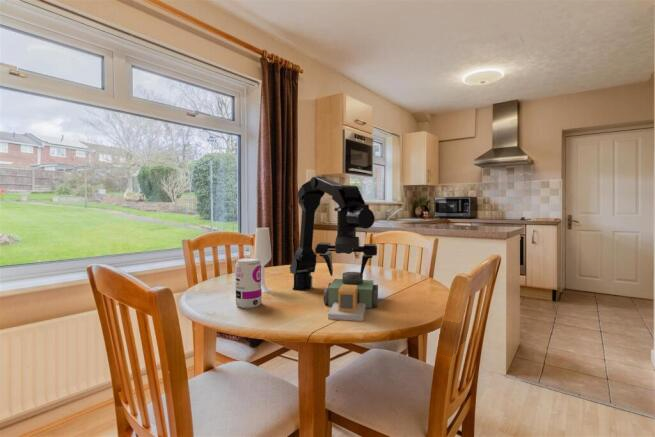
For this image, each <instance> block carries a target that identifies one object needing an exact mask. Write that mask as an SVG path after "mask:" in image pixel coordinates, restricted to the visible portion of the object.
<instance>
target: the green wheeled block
mask: <svg viewBox="0 0 655 437" xmlns="http://www.w3.org/2000/svg"><path fill="white" fill-rule="evenodd" d="M341 285H357V307H356V310H355V312H347V311H338V291H339V289H340V287H341ZM378 298H379V285H378V284H375V283H374V280H373V279H364V274H363V275H362V277H360V271H359V272H358V271H346V272H343V273H342V278H334V280H332V281H331V282H329V283H328V287H327V288H326V287H325V288H324V292H323V303H324V305H326V304H327V305H328V306H329V307H331V308H330V310H329V311H328V313H327V314H328V315H327V317H328V318H327V319H328V320H341V321H357V322H364V317H365V312H366V309H372V308H373V307H376V308H377V307H378V300H379V299H378Z"/></svg>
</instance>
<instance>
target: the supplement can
mask: <svg viewBox="0 0 655 437" xmlns="http://www.w3.org/2000/svg"><path fill="white" fill-rule="evenodd" d="M234 267H235V268H234V269H235V272H234V273H235V305H236V306H237V307H238V306H239V307H238V308H240V307H241V308H240V309H254V308H257V307H259V306H260V305H261V304H262V300H263V299H262V298H263V297H262V295H263V293H262V289H261V286H262V283H261V263H260V261H259V259H257V258H254V257H244V258H239V259H237V261H236V263H235V266H234Z"/></svg>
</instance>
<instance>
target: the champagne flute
mask: <svg viewBox="0 0 655 437" xmlns="http://www.w3.org/2000/svg"><path fill="white" fill-rule="evenodd" d="M269 228H270V227H256V228H255V238H254V248H253V249H254V251H253V252H254V253H253V258H257V259H259V261H260V263H261V289H262V294H265V293H271V292H273V289H271V287H270V288H269V286H266V284H265V272H266V271H265V266H266V265H268V263H269V262H270V261H271V259H272V246H271V245H272V244H271V238H270V237H271V236H270V229H269Z"/></svg>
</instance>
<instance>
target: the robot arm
mask: <svg viewBox="0 0 655 437" xmlns="http://www.w3.org/2000/svg"><path fill="white" fill-rule="evenodd" d="M359 189H360V188H359V187H358V185H351V184H349V185H348V184H341V183H338V182H336V181H333V180H331V179H328V178H327V177H325V176H312V177H311V178H310V179H309V181H306V182H305V183H303V184H302V185H301V187H300V188H299V189H298V191H297V199H298V202H297V203H298V204H299V206H300V208H301V220H300V221H301V222H300V234H299V235H300V236H299V246H298V248H297V250H296V251H295V252H294V256H293V259H292V262H291V263H290V266H289V271H290V273H291V274H292V275H293V287H292V290H295V291H309V290H310V289H311V288H313V275H312V273H315V271H316V265H317V257H318V256H317V254H319V256H320V257H322V258H323V259H324V261H325V263H326V265H327V268H328V272H329V275H330V277H333V275H334V274H333V270H334V268H333V254H332V253H333V252H335V254H338V255H339V254H347V255H350V254H353V253H363V254H362V257H361V263H360V264H361V265H360V271H359V272H360V277H362V275H363V276H364V271H365V268H366V265H367V263H368V261H369V259H372V258H373V257H374V256H377V255H378V245H377V244H376V243H364V245H363V246H361V245H360V236H357V228H358V229H365V230H367V229H369V228H371V227H373V225H374V223H375V221H376V219H375V215H374V212H373V211H372V210H371V209H370V205H369V204H366V201H365V200H364V198H363V196H362V193H361V191H360V190H359ZM326 194H328V195H329V196H331V200H333V201H334V203H336V204H337V206H335V208H334V209H333V211H334V212H337V218H336V219H337V220H336V221H337V223H336V224H337V225H336V226H337V229H336V230H337V231H336V238H335V241H334V244H333V245H331V242H318V243H317V244H316V245H315V247H314V249H313V242H314V241H313V240H314V227H315V219H316V218H315V216H316V215H315V214H316V211H317V209H318V208H319V207H320V205H321V201H322V200H321V199H322V198H323V197H324V196H325V195H326Z"/></svg>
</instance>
